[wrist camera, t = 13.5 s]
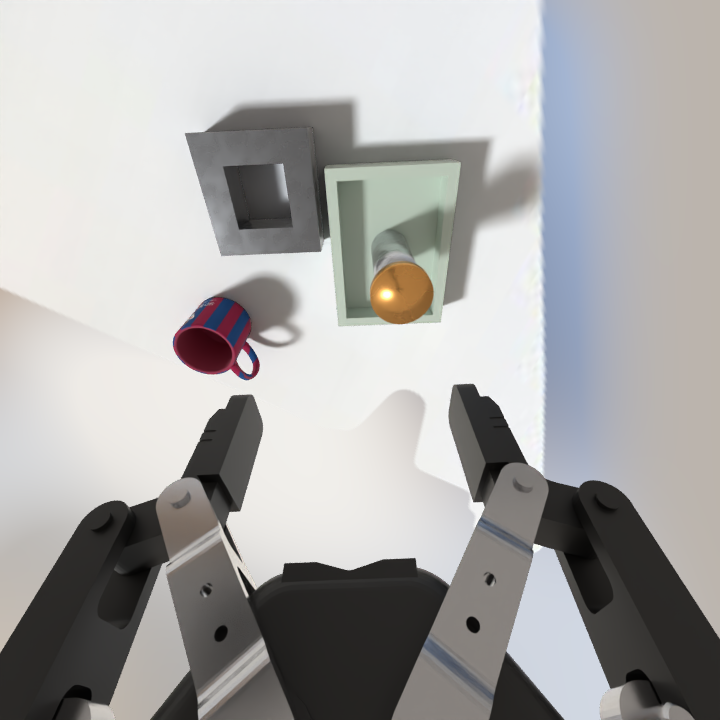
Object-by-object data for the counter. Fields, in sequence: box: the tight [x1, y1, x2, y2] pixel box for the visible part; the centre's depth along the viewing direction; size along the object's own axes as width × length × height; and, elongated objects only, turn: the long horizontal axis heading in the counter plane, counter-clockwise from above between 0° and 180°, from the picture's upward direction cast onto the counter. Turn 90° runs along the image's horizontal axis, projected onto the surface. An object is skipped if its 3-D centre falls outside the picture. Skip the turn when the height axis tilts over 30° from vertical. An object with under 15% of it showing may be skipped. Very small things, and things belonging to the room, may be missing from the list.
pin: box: [370, 230, 434, 324], centre depth 30 cm, size 5×5×12 cm
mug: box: [173, 297, 260, 380], centre depth 39 cm, size 7×10×7 cm
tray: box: [324, 159, 461, 326], centre depth 34 cm, size 16×12×3 cm
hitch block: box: [185, 127, 324, 256], centre depth 30 cm, size 10×10×4 cm
